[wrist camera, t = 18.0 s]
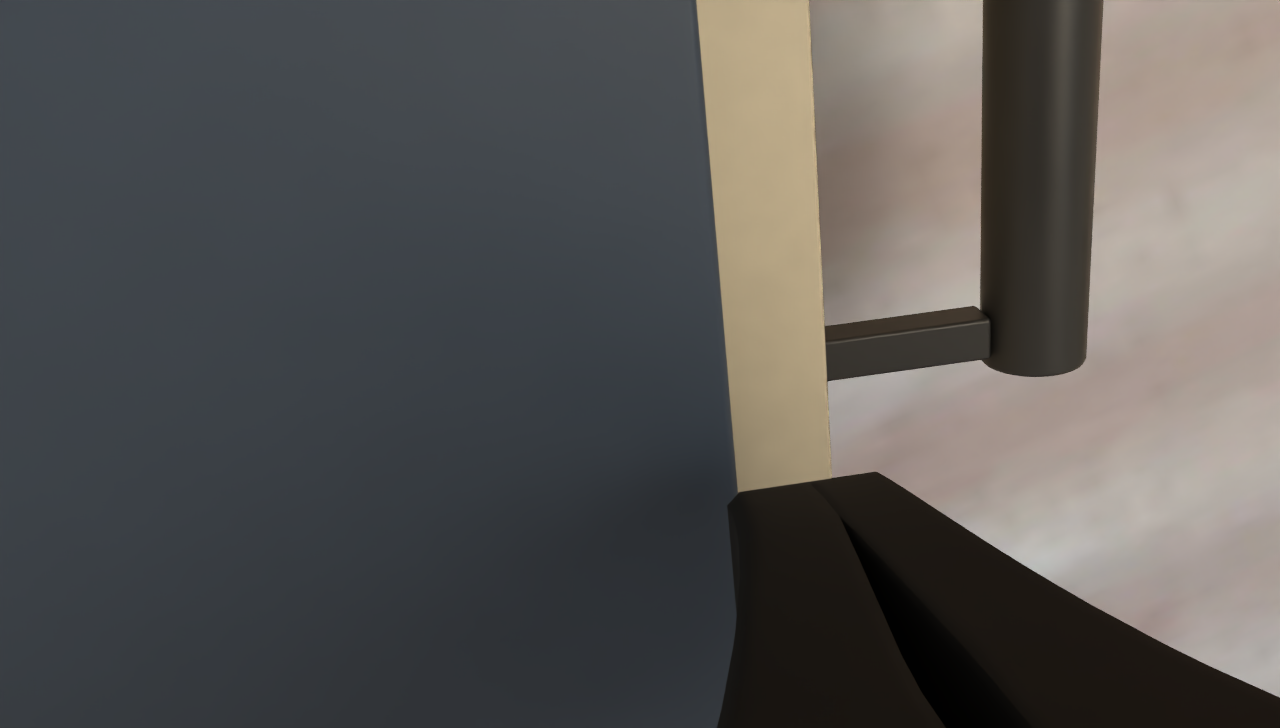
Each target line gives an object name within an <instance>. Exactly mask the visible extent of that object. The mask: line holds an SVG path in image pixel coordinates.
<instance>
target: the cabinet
mask: <svg viewBox="0 0 1280 728" xmlns="http://www.w3.org/2000/svg"><path fill="white" fill-rule="evenodd" d="M737 494H738V487H737V475H736V463H735V452H734V440H733V428H732V416H731V404H730V392H729V381H728V369H727V357H726V345H725V333H724V321H723V310H722V298H721V286H720V274H719V262H718V250H717V239H716V227H715V215H714V203H713V191H712V179H711V168H710V156H709V144H708V132H707V120H706V108H705V96H704V85H703V73H702V61H701V49H700V37H699V25H698V14H697V2H696V0H0V728H717V725H718V721H719V717H720V713H721V709H722V704H723V698H724V693H725V688H726V682H727V677H728V672H729V666H730V661H731V656H732V650H733V644H734V637H735V630H736V618H737V614H736V603H735V591H734V579H733V568H732V556H731V544H730V533H729V521H728V509H727V505H728V504H729V503H730V502H731V501H732V500H733V498H734V497H735V496H736V495H737Z"/></svg>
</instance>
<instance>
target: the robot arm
mask: <svg viewBox="0 0 1280 728" xmlns="http://www.w3.org/2000/svg"><path fill="white" fill-rule="evenodd" d="M727 509H728V521H729V533H730V544H731V556H732V568H733V579H734V591H735V603H736V614H737V618H736V630H735V637H734V644H733V650H732V656H731V661H730V666H729V672H728V677H727V682H726V688H725V693H724V698H723V704H722V709H721V713H720V717H719V721H718V725H717V728H1280V698H1279V697H1277V696H1275V695H1272V694H1270V693H1268V692H1266V691H1264V690H1261V689H1259V688H1257V687H1255V686H1252V685H1250V684H1248V683H1246V682H1243V681H1241V680H1239V679H1237V678H1235V677H1232V676H1230V675H1228V674H1226V673H1223V672H1221V671H1219V670H1217V669H1214V668H1212V667H1210V666H1208V665H1206V664H1204V663H1202V662H1200V661H1198V660H1196V659H1194V658H1191V657H1189V656H1187V655H1185V654H1183V653H1181V652H1179V651H1177V650H1175V649H1173V648H1171V647H1169V646H1167V645H1165V644H1163V643H1161V642H1159V641H1157V640H1156V639H1154V638H1152V637H1150V636H1148V635H1146V634H1144V633H1143V632H1141V631H1139V630H1137V629H1135V628H1133V627H1131V626H1129V625H1128V624H1126V623H1124V622H1122V621H1120V620H1118V619H1116V618H1115V617H1113V616H1111V615H1109V614H1107V613H1105V612H1103V611H1102V610H1100V609H1098V608H1096V607H1094V606H1092V605H1090V604H1089V603H1087V602H1085V601H1083V600H1082V599H1080V598H1078V597H1077V596H1075V595H1073V594H1071V593H1070V592H1068V591H1066V590H1064V589H1063V588H1061V587H1059V586H1057V585H1056V584H1054V583H1052V582H1051V581H1049V580H1047V579H1046V578H1044V577H1042V576H1041V575H1039V574H1037V573H1036V572H1034V571H1032V570H1031V569H1029V568H1027V567H1026V566H1024V565H1022V564H1021V563H1019V562H1018V561H1016V560H1014V559H1013V558H1011V557H1010V556H1008V555H1006V554H1005V553H1003V552H1001V551H1000V550H998V549H997V548H995V547H994V546H992V545H990V544H989V543H987V542H986V541H984V540H983V539H981V538H979V537H978V536H976V535H975V534H973V533H972V532H970V531H969V530H967V529H965V528H964V527H962V526H961V525H959V524H958V523H956V522H955V521H953V520H952V519H950V518H949V517H947V516H945V515H944V514H942V513H941V512H939V511H938V510H936V509H935V508H933V507H932V506H930V505H929V504H927V503H926V502H924V501H923V500H921V499H920V498H918V497H917V496H915V495H913V494H912V493H910V492H909V491H907V490H906V489H904V488H903V487H901V486H900V485H898V484H896V483H895V482H893V481H892V480H890V479H888V478H887V477H885V476H883V475H881V474H880V473H878V472H871V473H864V474H857V475H851V476H844V477H837V478H830V479H824V480H817V481H810V482H803V483H797V484H790V485H783V486H776V487H770V488H763V489H756V490H749V491H743V492H739V493H738V494H737V495H736V496H735V497H734V498H733V500H732V501H731V502H730V503H729V504H728V505H727Z"/></svg>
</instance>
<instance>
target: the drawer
mask: <svg viewBox="0 0 1280 728" xmlns="http://www.w3.org/2000/svg"><path fill="white" fill-rule="evenodd" d="M696 2H697V14H698V25H699V37H700V49H701V61H702V73H703V85H704V96H705V108H706V120H707V132H708V144H709V156H710V168H711V179H712V191H713V203H714V215H715V227H716V239H717V250H718V262H719V274H720V286H721V298H722V310H723V321H724V333H725V345H726V357H727V369H728V381H729V392H730V404H731V416H732V428H733V440H734V452H735V463H736V475H737V487H738V493H739V492H743V491H749V490H756V489H763V488H770V487H776V486H783V485H790V484H797V483H803V482H810V481H817V480H824V479H830V478H832V471H831V450H830V429H829V408H828V388H827V381H832V380H839V379H846V378H853V377H860V376H867V375H875V374H882V373H889V372H896V371H903V370H911V369H918V368H925V367H932V366H939V365H947V364H954V363H961V362H968V361H975V360H982V361H983V362H984V363H985V364H986V365H987V366H988V367H990V368H992V369H994V370H997V371H999V372H1003V373H1006V374H1011V375H1017V376H1027V377H1044V376H1054V375H1060V374H1064V373H1067V372H1071V371H1073V370H1075V369H1077V368H1079V367H1080V366H1081V365H1082V364H1083V363H1084V361H1085V359H1086V349H1087V328H1088V307H1089V287H1090V266H1091V245H1092V225H1093V204H1094V183H1095V162H1096V142H1097V121H1098V100H1099V80H1100V59H1101V38H1102V17H1103V0H983V57H982V168H981V279H980V310H979V309H978V308H977V307H975V306H970V307H963V308H956V309H948V310H941V311H934V312H926V313H919V314H912V315H904V316H897V317H890V318H882V319H875V320H868V321H860V322H853V323H846V324H839V325H831V326H825V325H824V304H823V283H822V262H821V241H820V220H819V199H818V178H817V157H816V136H815V115H814V94H813V73H812V52H811V31H810V10H809V0H696Z"/></svg>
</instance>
